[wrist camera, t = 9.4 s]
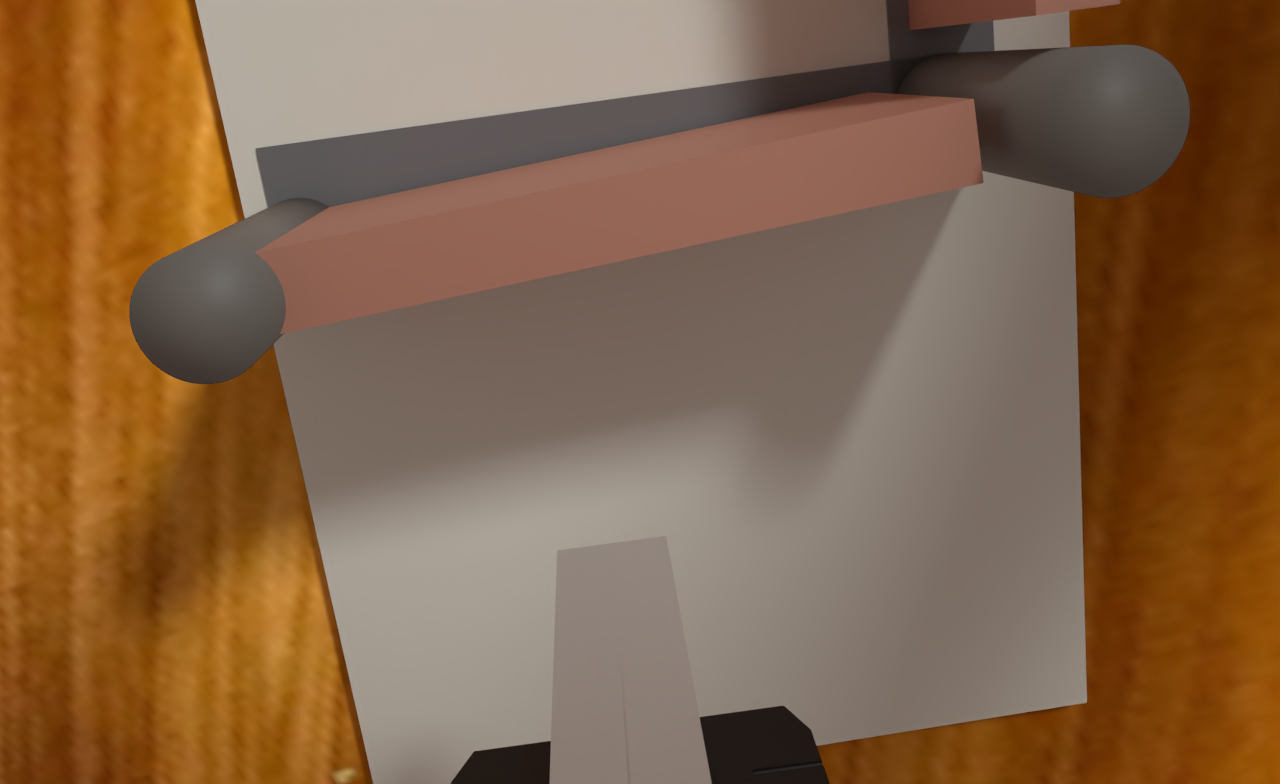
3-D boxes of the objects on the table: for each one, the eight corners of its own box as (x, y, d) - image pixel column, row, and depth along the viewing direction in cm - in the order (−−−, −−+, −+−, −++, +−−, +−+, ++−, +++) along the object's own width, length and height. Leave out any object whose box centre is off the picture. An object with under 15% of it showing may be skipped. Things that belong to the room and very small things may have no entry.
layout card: (20, -801, 18) (6, -824, 17) (1034, -910, 18) (1046, -934, 18) (383, 804, 26) (380, 817, 25) (1079, 693, 26) (1088, 704, 26)
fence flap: (865, 75, 21) (997, 77, 15) (879, 171, 22) (1012, 211, 16) (242, 208, 21) (110, 266, 15) (270, 302, 22) (154, 396, 15)
